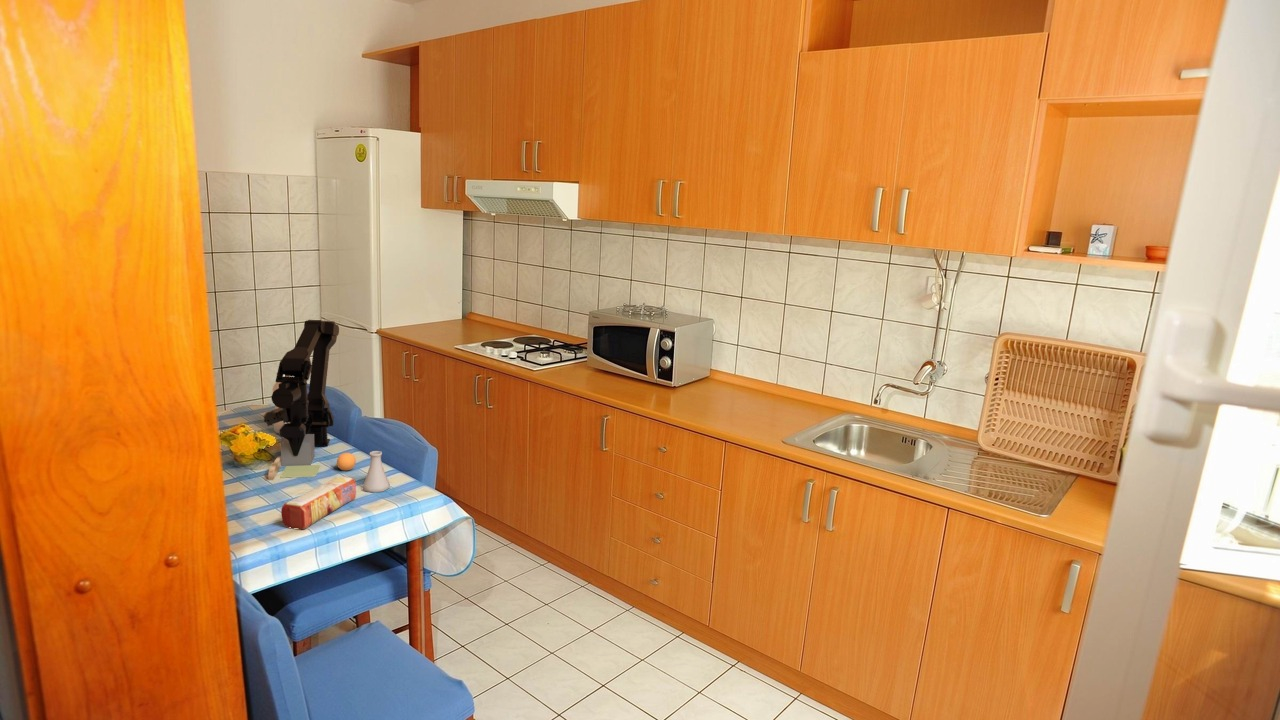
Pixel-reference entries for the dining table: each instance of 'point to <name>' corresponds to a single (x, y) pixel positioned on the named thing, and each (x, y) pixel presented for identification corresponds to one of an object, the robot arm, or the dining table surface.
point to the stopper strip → (274, 468)
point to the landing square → (300, 471)
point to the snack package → (318, 502)
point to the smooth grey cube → (304, 454)
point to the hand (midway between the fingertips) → (298, 451)
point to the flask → (376, 475)
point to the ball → (346, 461)
